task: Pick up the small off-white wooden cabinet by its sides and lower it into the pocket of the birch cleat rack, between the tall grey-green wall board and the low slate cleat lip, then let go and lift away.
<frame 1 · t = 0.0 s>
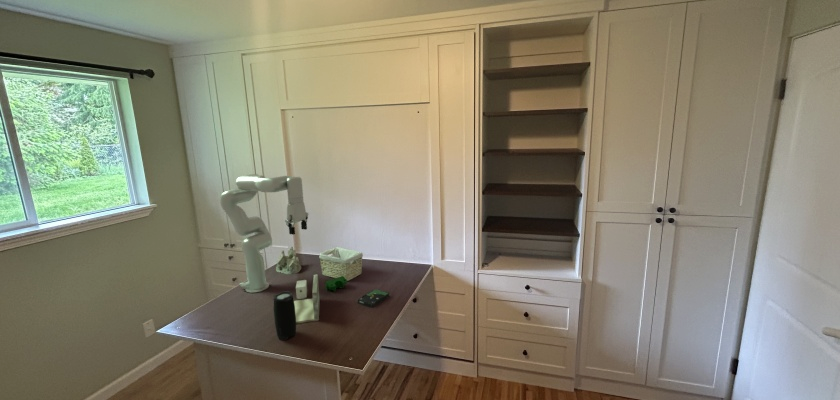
hand: (298, 231, 180), 37 cm above the table, tool pointing down, fingers open, 9 cm apart
portable speaker: (287, 335, 150), on the table
ceramic cottage: (288, 270, 224), on the table
storage basket: (342, 274, 216), on the table
disk drive: (373, 300, 182), on the table
mini cabinet: (302, 295, 188), on the table
clamp: (336, 289, 195), on the table
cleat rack: (299, 311, 170), on the table
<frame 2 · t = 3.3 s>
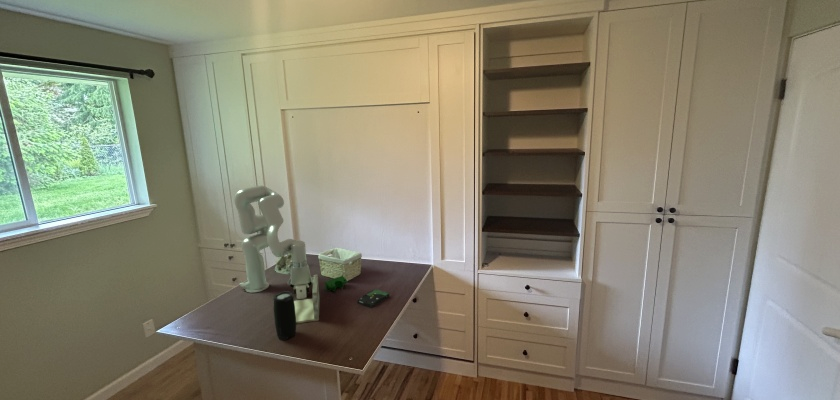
hand: (302, 293, 188), 1 cm above the table, tool pointing down, fingers closed on mini cabinet, 5 cm apart
mini cabinet: (302, 295, 188), on the table, touching gripper
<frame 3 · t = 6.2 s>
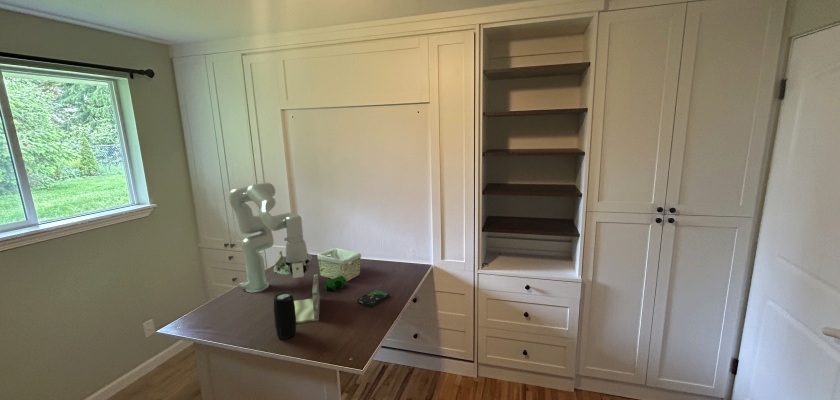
hand: (298, 272, 174), 18 cm above the table, tool pointing down, fingers closed on mini cabinet, 5 cm apart
mini cabinet: (298, 274, 174), point 17 cm above the table, touching gripper
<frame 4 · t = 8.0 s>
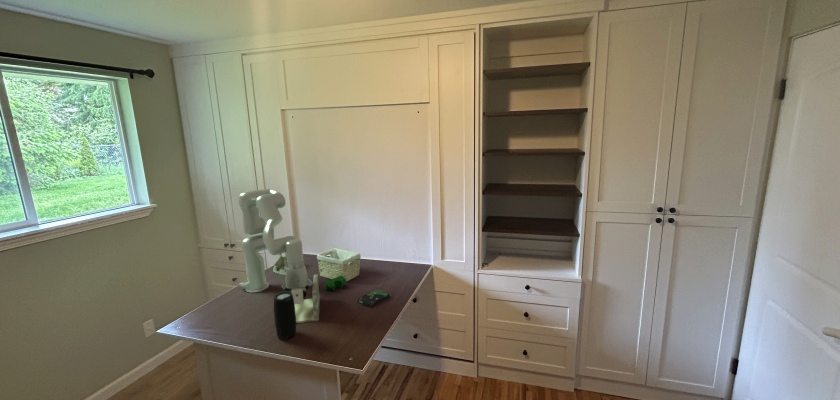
hand: (298, 298, 169), 7 cm above the table, tool pointing down, fingers closed on mini cabinet, 5 cm apart
mini cabinet: (298, 299, 169), point 7 cm above the table, touching gripper
when the fingers open (3 cm above the table, at t = 9.3 s): mini cabinet drops 1 cm, resting on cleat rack.
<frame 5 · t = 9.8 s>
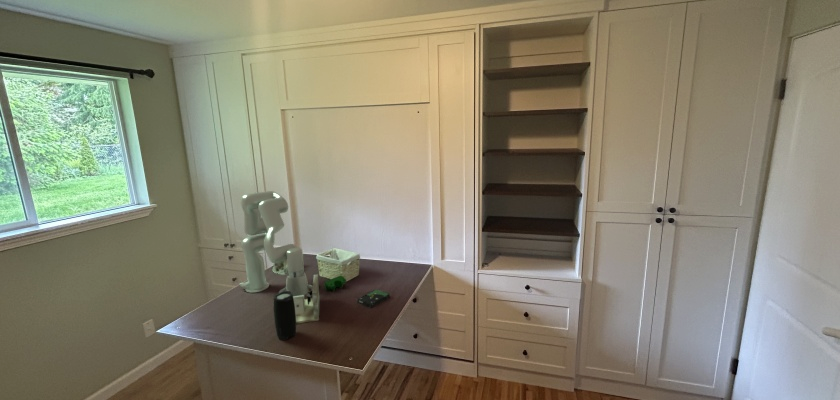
hand: (298, 304, 169), 4 cm above the table, tool pointing down, fingers open, 9 cm apart
mini cabinet: (299, 310, 170), point 1 cm above the table, touching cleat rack
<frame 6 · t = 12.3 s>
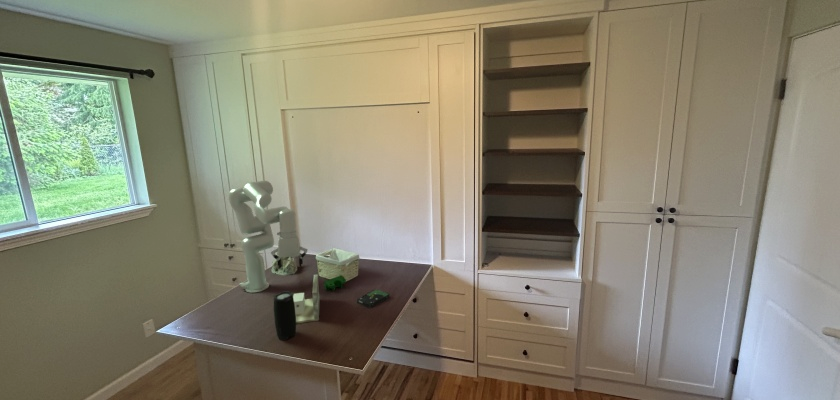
hand: (290, 266, 171), 22 cm above the table, tool pointing down, fingers open, 9 cm apart
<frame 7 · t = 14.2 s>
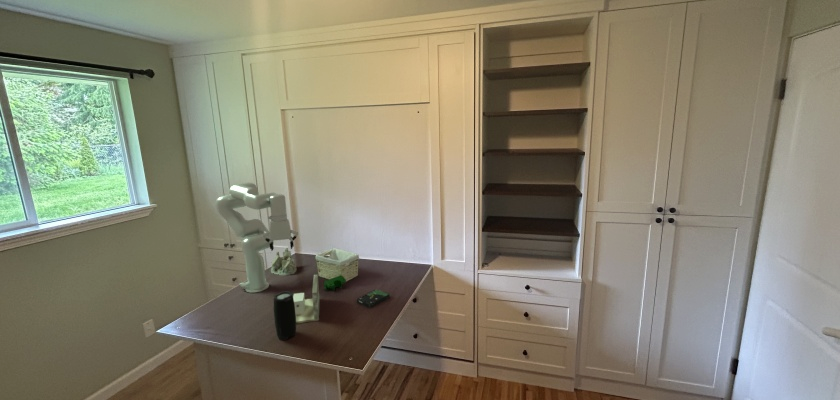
hand: (282, 249, 180), 28 cm above the table, tool pointing down, fingers open, 9 cm apart
at the end: mini cabinet inside the target area on the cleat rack (0.1 cm from its centre), point 1.0 cm above the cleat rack's base; the gripper is holding nothing; mini cabinet tilted 0° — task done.
